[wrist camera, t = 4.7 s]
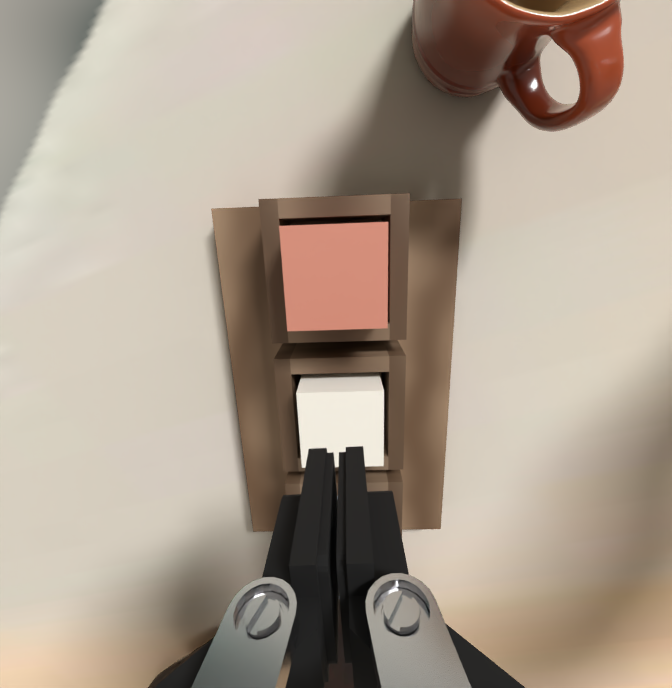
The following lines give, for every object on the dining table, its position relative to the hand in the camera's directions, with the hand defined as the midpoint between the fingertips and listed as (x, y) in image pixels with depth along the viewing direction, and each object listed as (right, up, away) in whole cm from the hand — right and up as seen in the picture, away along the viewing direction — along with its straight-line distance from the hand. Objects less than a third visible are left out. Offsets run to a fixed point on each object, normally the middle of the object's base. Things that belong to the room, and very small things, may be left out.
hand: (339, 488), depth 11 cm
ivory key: (0, 0, +14) cm, 14 cm away
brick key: (0, +9, +10) cm, 13 cm away
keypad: (0, +2, +17) cm, 17 cm away
